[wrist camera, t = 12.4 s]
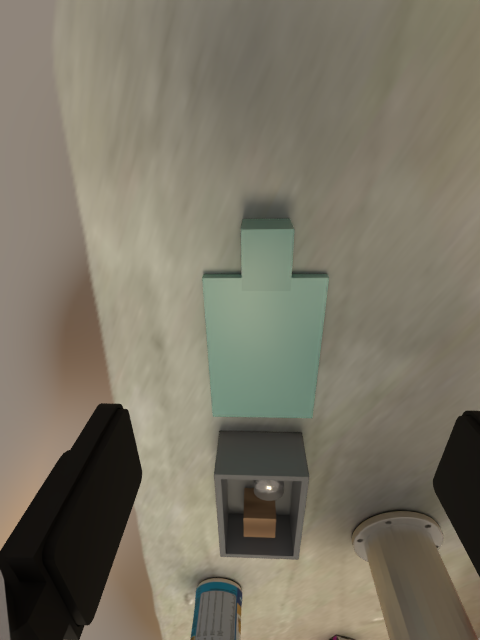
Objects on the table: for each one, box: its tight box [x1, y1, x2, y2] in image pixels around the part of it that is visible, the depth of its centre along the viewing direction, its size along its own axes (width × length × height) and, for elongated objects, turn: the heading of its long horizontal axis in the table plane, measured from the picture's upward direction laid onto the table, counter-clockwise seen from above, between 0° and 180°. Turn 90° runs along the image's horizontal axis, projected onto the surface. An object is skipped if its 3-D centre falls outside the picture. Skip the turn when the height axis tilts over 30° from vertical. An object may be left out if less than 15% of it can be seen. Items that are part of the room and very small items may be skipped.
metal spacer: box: [254, 480, 285, 501], centre depth 40 cm, size 4×4×4 cm
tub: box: [214, 431, 309, 560], centre depth 41 cm, size 16×10×6 cm, turn 1°
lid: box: [202, 218, 329, 418], centre depth 31 cm, size 22×11×4 cm, turn 1°
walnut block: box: [243, 488, 276, 538], centre depth 42 cm, size 4×4×4 cm
